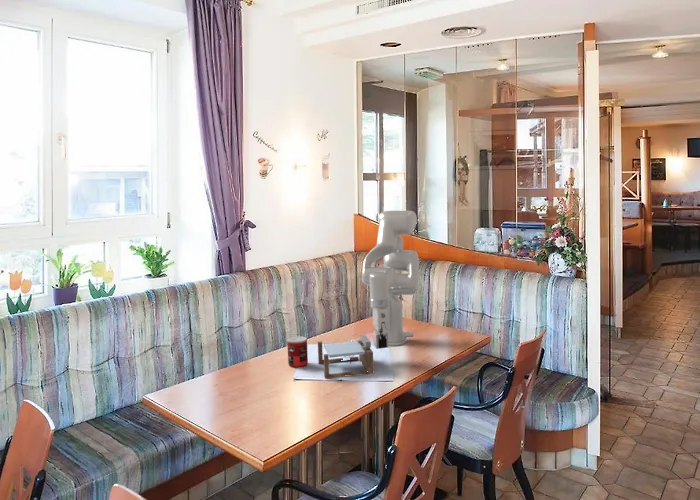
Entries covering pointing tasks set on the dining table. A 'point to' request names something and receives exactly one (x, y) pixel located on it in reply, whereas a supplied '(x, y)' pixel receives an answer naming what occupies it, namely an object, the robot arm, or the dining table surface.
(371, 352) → the frame
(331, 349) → the trapdoor
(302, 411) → the dining table surface
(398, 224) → the robot arm
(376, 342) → the light grey block
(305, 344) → the canned food
